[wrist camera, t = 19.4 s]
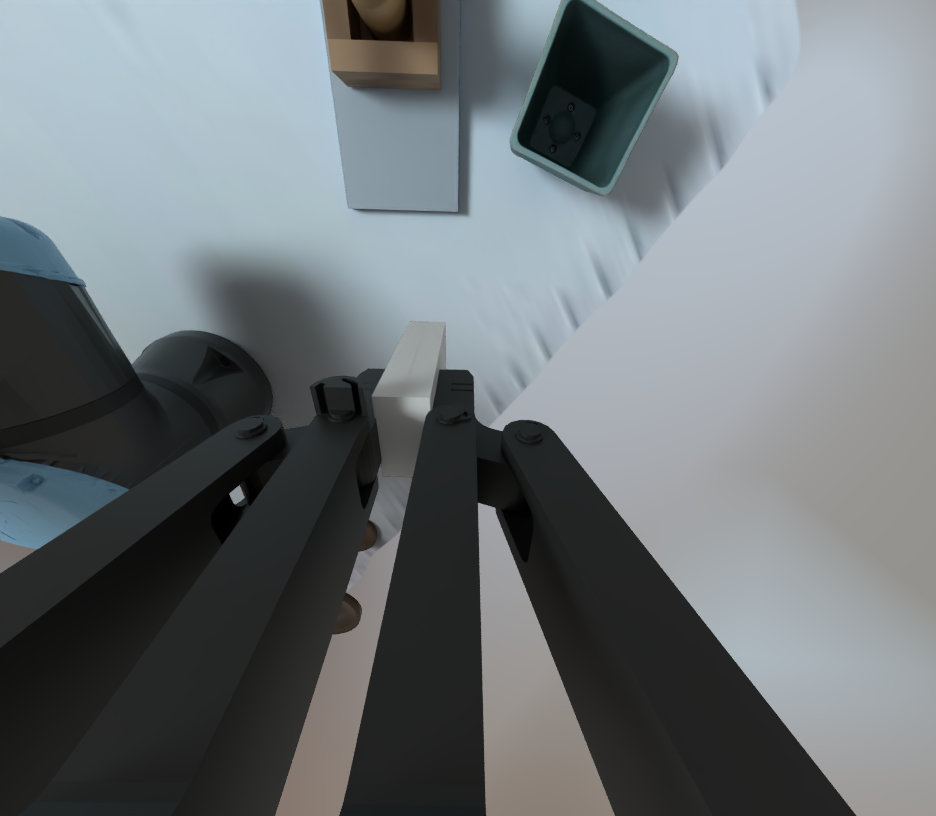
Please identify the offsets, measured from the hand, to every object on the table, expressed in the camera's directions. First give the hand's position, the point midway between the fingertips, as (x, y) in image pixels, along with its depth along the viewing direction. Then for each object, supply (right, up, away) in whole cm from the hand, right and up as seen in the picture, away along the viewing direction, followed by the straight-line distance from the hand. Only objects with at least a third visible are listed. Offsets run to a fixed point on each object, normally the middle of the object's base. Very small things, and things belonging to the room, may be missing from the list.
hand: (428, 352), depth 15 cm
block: (-4, +28, +12) cm, 31 cm away
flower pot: (+10, +24, +17) cm, 31 cm away
